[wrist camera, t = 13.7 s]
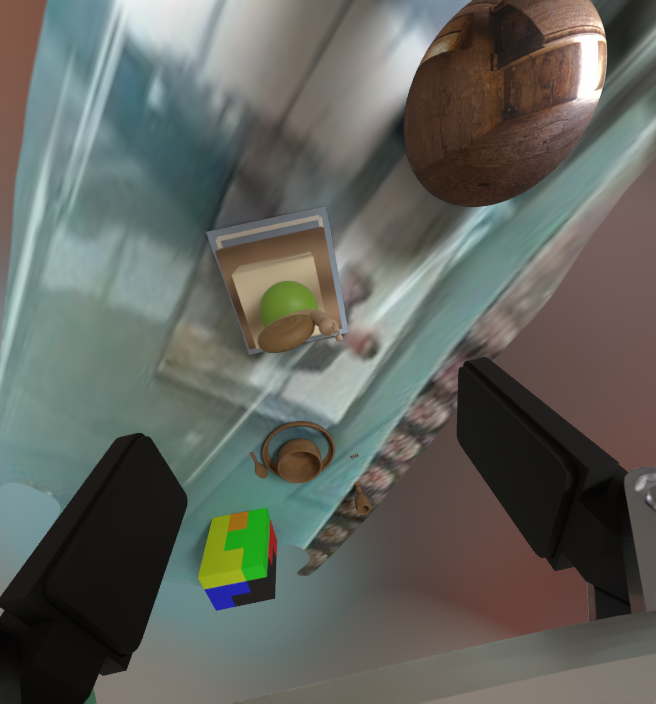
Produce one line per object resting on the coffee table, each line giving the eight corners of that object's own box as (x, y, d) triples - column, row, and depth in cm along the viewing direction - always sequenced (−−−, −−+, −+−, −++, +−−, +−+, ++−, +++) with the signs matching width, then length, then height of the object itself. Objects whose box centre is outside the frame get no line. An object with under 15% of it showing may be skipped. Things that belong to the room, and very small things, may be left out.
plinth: (220, 248, 34) (203, 258, 27) (321, 226, 35) (329, 230, 28) (251, 340, 40) (244, 368, 33) (338, 320, 40) (350, 344, 33)
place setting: (339, 402, 48) (346, 425, 42) (368, 483, 57) (376, 511, 51) (236, 435, 48) (230, 463, 43) (281, 511, 57) (280, 541, 52)
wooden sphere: (529, 157, 35) (679, 125, 22) (418, 233, 37) (492, 245, 24) (489, 2, 29) (666, -179, 15) (359, 104, 31) (413, 22, 18)
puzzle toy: (227, 549, 59) (216, 610, 50) (212, 517, 55) (197, 577, 46) (276, 540, 60) (274, 598, 51) (266, 507, 55) (262, 565, 46)
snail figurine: (332, 312, 31) (355, 366, 20) (275, 335, 31) (269, 400, 21) (312, 263, 29) (327, 294, 18) (252, 288, 29) (230, 333, 18)
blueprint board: (207, 231, 34) (205, 232, 33) (325, 205, 35) (326, 205, 34) (249, 352, 41) (249, 355, 41) (347, 330, 42) (348, 332, 41)
